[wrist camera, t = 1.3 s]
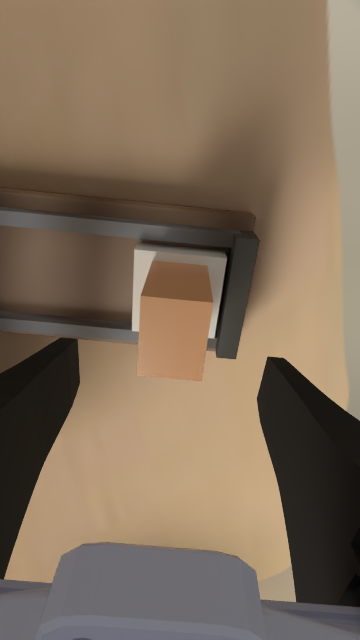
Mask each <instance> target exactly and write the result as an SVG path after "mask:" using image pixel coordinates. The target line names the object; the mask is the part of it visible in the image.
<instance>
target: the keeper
mask: <svg viewBox="0 0 360 640" xmlns="http://www.w3.org/2000/svg"><path fill="white" fill-rule="evenodd" d="M226 262H227V257H226V254H225V251H219V250H209V249H198V248H188V247H178V246H168V245H157V244H147V243H138V244H137V245H136V247H135V249H134V274H133V307H132V331H137V332H139V342H138V366H137V375H138V376H149V377H160V378H171V379H183V380H194V381H202V375H203V368H204V362H205V355H206V348H207V342H208V338H213V339H214V337H215V330H216V324H217V318H218V312H219V305H220V299H221V293H222V287H223V280H224V274H225V268H226Z"/></svg>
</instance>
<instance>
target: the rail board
mask: <svg viewBox="0 0 360 640" xmlns="http://www.w3.org/2000/svg"><path fill="white" fill-rule="evenodd" d="M255 219H256V217H255V216H254V215H253V214H252V213H249V212H239V211H229V210H218V209H208V208H198V207H188V206H178V205H168V204H158V203H148V202H138V201H128V200H118V199H108V198H98V197H88V196H78V195H68V194H58V193H48V192H38V191H28V190H18V189H8V188H0V332H9V333H20V334H30V335H41V336H52V337H63V338H74V339H85V340H96V341H107V342H118V343H129V344H138V342H139V332H137V331H132V307H133V274H134V249H135V247H136V245H137V244H138V243H147V244H157V245H168V246H178V247H188V248H198V249H209V250H219V251H225V254H226V257H227V262H226V268H225V274H224V280H223V287H222V293H221V299H220V305H219V312H218V318H217V324H216V330H215V337H214V339H213V338H208V342H207V348H206V351H216V357H217V358H228V359H236V356H237V351H238V346H239V341H240V336H241V331H242V326H243V321H244V316H245V311H246V306H247V301H248V296H249V291H250V286H251V281H252V276H253V271H254V266H255V261H256V256H257V251H258V246H259V241H260V240H259V238H258V237H257V236H256V235H255V233H254V232H253V230H254V224H255Z"/></svg>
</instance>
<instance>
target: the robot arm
mask: <svg viewBox="0 0 360 640" xmlns="http://www.w3.org/2000/svg"><path fill="white" fill-rule="evenodd" d="M79 384H80V375H79V356H78V339H73V338H62V337H61V338H59V339H58V340H56V341H54V342H53V343H51V344H49V345H48V346H46V347H45V348H43V349H42V350H40V351H38V352H37V353H35V354H33V355H32V356H30V357H29V358H27V359H25V360H24V361H22V362H20V363H19V364H17V365H15V366H13V367H11V368H10V369H8V370H6V371H4V372H2V373H1V374H0V640H360V421H359V420H358V419H356V418H355V417H353V416H352V415H350V414H349V413H348V412H346V411H345V410H344V409H342V408H341V407H340V406H339V405H337V404H336V403H335V402H333V401H332V400H331V399H330V398H328V397H327V396H326V395H325V394H324V393H322V392H321V391H320V390H319V389H318V388H317V387H316V386H314V385H313V384H312V383H311V382H310V381H309V380H308V379H307V378H306V377H304V376H303V375H302V374H301V373H300V372H299V371H298V370H297V369H296V368H295V367H294V366H292V365H291V364H290V363H289V362H288V361H287V360H285V359H284V358H278V357H267V361H266V365H265V369H264V373H263V377H262V381H261V385H260V389H259V393H258V397H257V403H258V411H259V417H260V423H261V426H262V430H263V434H264V437H265V440H266V444H267V447H268V451H269V454H270V457H271V461H272V464H273V468H274V471H275V474H276V478H277V482H278V486H279V491H280V496H281V502H282V507H283V512H284V518H285V524H286V531H287V537H288V543H289V550H290V557H291V564H292V570H293V578H294V586H295V595H296V602H285V601H271V600H260V594H259V588H258V582H257V575H256V571H255V570H254V569H253V568H251V567H250V566H249V565H248V564H246V563H245V562H244V561H243V560H241V559H240V558H239V557H237V556H234V555H230V554H226V553H222V552H218V551H209V550H197V549H185V548H172V547H160V546H148V545H135V544H123V543H110V542H101V543H88V544H82V545H80V546H78V547H76V548H75V549H73V550H71V551H69V552H67V553H65V554H64V555H62V556H61V559H60V562H59V564H58V567H57V570H56V573H55V576H54V579H53V582H52V583H42V582H29V581H16V580H4V577H5V573H6V570H7V567H8V564H9V560H10V557H11V554H12V551H13V548H14V545H15V542H16V539H17V536H18V533H19V530H20V527H21V524H22V521H23V518H24V515H25V513H26V510H27V507H28V504H29V501H30V498H31V496H32V493H33V490H34V488H35V485H36V482H37V480H38V477H39V474H40V472H41V469H42V467H43V464H44V462H45V460H46V458H47V456H48V454H49V452H50V450H51V448H52V446H53V444H54V442H55V440H56V438H57V436H58V434H59V432H60V430H61V428H62V426H63V424H64V422H65V420H66V418H67V416H68V414H69V412H70V409H71V407H72V405H73V402H74V399H75V397H76V394H77V390H78V387H79Z"/></svg>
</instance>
